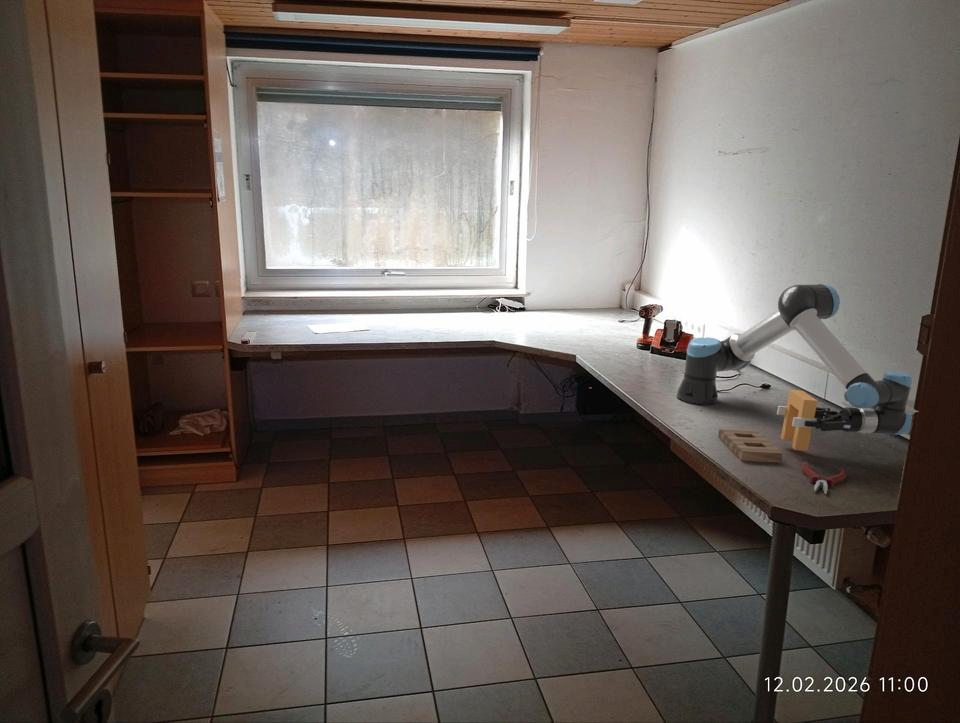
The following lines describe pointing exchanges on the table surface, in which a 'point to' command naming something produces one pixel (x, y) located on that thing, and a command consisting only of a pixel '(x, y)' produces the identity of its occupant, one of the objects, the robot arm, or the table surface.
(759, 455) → the wooden slotted board
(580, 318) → the table surface
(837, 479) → the pliers
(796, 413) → the orange arch-shaped block
